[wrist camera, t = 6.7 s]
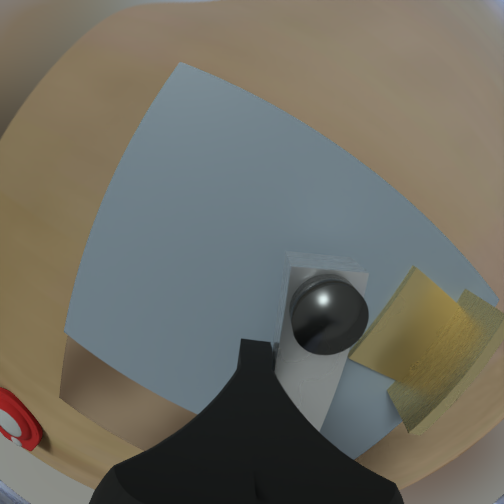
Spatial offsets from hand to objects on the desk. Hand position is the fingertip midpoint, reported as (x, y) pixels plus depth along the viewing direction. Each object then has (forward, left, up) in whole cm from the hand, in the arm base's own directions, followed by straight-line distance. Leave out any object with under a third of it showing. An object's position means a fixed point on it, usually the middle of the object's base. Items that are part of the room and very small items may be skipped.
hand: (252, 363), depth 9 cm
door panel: (-1, -1, -3) cm, 4 cm away
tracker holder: (+16, +26, -4) cm, 31 cm away
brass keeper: (-6, -4, -1) cm, 7 cm away
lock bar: (-3, +2, 0) cm, 4 cm away
